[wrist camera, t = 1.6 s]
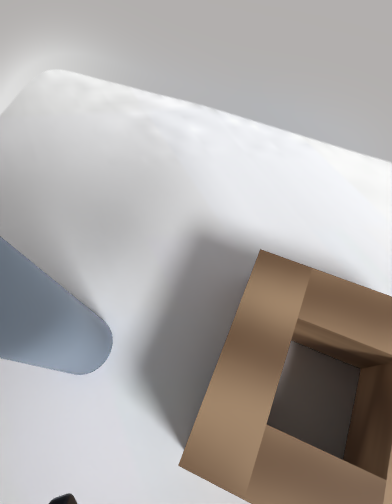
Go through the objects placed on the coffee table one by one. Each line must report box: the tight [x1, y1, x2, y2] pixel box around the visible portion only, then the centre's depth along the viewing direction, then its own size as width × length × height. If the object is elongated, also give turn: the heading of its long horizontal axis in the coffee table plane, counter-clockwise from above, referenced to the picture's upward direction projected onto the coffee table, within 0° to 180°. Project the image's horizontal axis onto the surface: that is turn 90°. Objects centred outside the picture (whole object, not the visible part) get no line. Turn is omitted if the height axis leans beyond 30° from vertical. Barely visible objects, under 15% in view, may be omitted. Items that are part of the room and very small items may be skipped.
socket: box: [178, 249, 392, 504], centre depth 18 cm, size 12×12×5 cm
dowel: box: [0, 237, 113, 375], centre depth 16 cm, size 4×4×14 cm
